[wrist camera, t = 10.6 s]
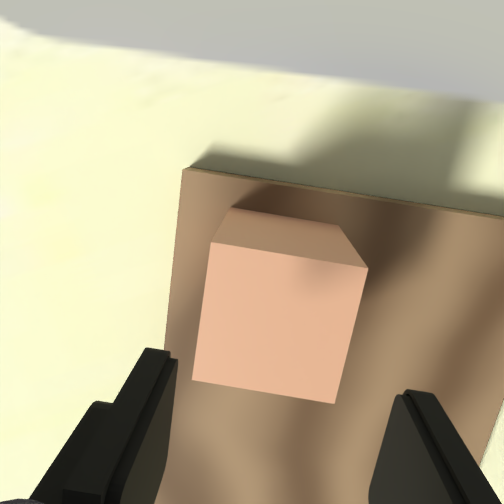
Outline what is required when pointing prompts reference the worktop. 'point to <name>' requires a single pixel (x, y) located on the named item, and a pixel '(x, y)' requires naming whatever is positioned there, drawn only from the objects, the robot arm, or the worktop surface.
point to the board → (359, 352)
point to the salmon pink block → (278, 305)
